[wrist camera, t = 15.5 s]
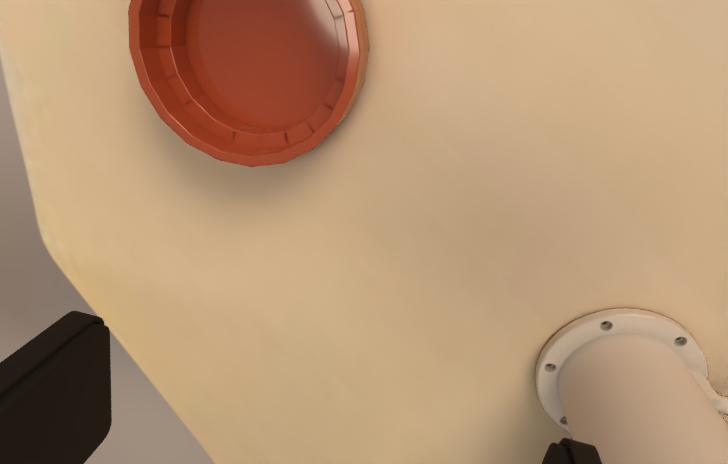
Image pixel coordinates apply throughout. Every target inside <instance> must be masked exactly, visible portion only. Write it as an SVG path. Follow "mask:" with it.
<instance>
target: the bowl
mask: <svg viewBox="0 0 728 464" xmlns="http://www.w3.org/2000/svg"><path fill="white" fill-rule="evenodd" d="M128 15H129V48H130V53H131V56H132V59H133V62H134V66H135V69H136V72H137V75H138V79H139V82H140V85H141V87H142V89H143V91H144V92H145V94H146V95H147V97H148V99H149V100H150V102H151V103H152V105H153V107H154V108H155V110H156V111H157V113H158V115H159V116H160V118H161V119H162V120H163V121H164V122H165V123H166V124H167V125H168V126H169V127H170V128H171V129H172V130H174V131H175V132H176V133H177V134H178V135H179V136H180V137H181V138H182V139H183V140H184V141H185V142H186V143H188V144H189V145H191V146H193V147H195V148H197V149H199V150H201V151H202V152H204V153H206V154H208V155H210V156H212V157H214V158H216V159H218V160H220V161H225V162H230V163H235V164H240V165H245V166H250V167H251V166H252V167H255V166H263V165H272V164H280V163H284V162H287V161H289V160H292V159H294V158H296V157H298V156H300V155H302V154H304V153H306V152H308V151H310V150H312V149H314V148H315V147H316V146H317V145H318V144H319V143H320V142H321V141H322V140H323V139H324V138H325V137H326V136H327V135H328V134H329V133H330V132H331V131H332V130H333V129H334V128H335V127H336V126H337V125H338V124H339V123H340V122H341V121H342V120H343V119H344V118H345V117H346V116H347V115H348V113H349V112H350V110H351V108H352V106H353V104H354V102H355V100H356V98H357V96H358V94H359V92H360V90H361V88H362V86H363V84H364V80H365V73H366V67H367V61H368V54H369V40H368V33H367V26H366V19H365V12H364V9H363V7H362V4H361V2H360V0H131V2H130V6H129V10H128Z"/></svg>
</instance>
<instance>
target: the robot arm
mask: <svg viewBox="0 0 728 464" xmlns="http://www.w3.org/2000/svg"><path fill="white" fill-rule="evenodd" d="M110 376H111V372H110V331H109V328H108V327H107V326H104V321H103V319H102V318H100V317H97V316H93V315H90V314H86V313H82V312H78V311H71V312H70V313H68V314H66V315H65V316H63V317H62V318H61V319H60V320H58V321H57V322H55V323H54V324H53V325H51V326H50V327H49V328H47V329H46V330H44V331H43V332H42V333H40V334H39V335H38V336H36V337H35V338H34V339H32V340H31V341H29V342H28V343H27V344H26V345H24V346H23V347H21V348H20V349H18V350H17V351H16V352H14V353H13V354H12V355H10V356H9V357H8V358H6V359H5V360H4V361H2V362H1V363H0V464H84V463H85V461H86V460H87V459H88V458H89V457H90V456H91V454H92V453H93V452H94V451H95V450H96V448H97V447H98V446H99V445H100V444H101V443H102V442H103V440H104V439H105V438H106V436H107V434H108V432H109V430H110V426H111V421H112V420H111V377H110ZM707 378H708V369H707V363H706V359H705V356H704V354H703V352H702V350H701V348H700V346H699V345H698V344H697V342H696V341H695V340H694V338H693V337H692V336H691V335H690V334H689V333H688V332H687V331H686V330H685V329H684V328H683V327H682V326H681V325H679V324H678V323H676V322H675V321H673V320H671V319H670V318H668V317H665V316H663V315H660V314H657V313H655V312H650V311H646V310H641V309H627V308H620V309H610V310H603V311H600V312H596V313H592V314H588V315H586V316H584V317H582V318H579V319H577V320H575V321H573V322H571V323H570V324H568V325H567V326H565V327H564V328H562V329H561V330H560V331H558V332H557V333H556V334H555V335H554V336H553V337H552V338H551V339H550V340H549V342H548V343H547V344H546V346H545V347H544V348H543V350H542V352H541V354H540V356H539V359H538V361H537V365H536V370H535V384H536V389H537V393H538V397H539V400H540V402H541V404H542V406H543V409H544V410H545V411H546V413H547V414H548V415H549V417H550V418H551V419H552V420H553V421H554V422H555V423H556V424H558V425H559V426H560V427H562V428H563V429H565V430H567V431H568V432H570V434H571V437H572V440H571V439H567V438H563V439H562V440H561V441H560V443H559V444H556V443H552V444H550V446H549V448H548V450H547V452H546V455H545V457H544V459H543V462H542V464H728V421H725V420H724V419H723V418H722V416H721V415H720V413H723V414H725V415H728V396H720V395H718V394H717V393H716V392H715V391H714V389H713V388H712V387H711V385H710V384H709V383H708V381H707Z"/></svg>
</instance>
